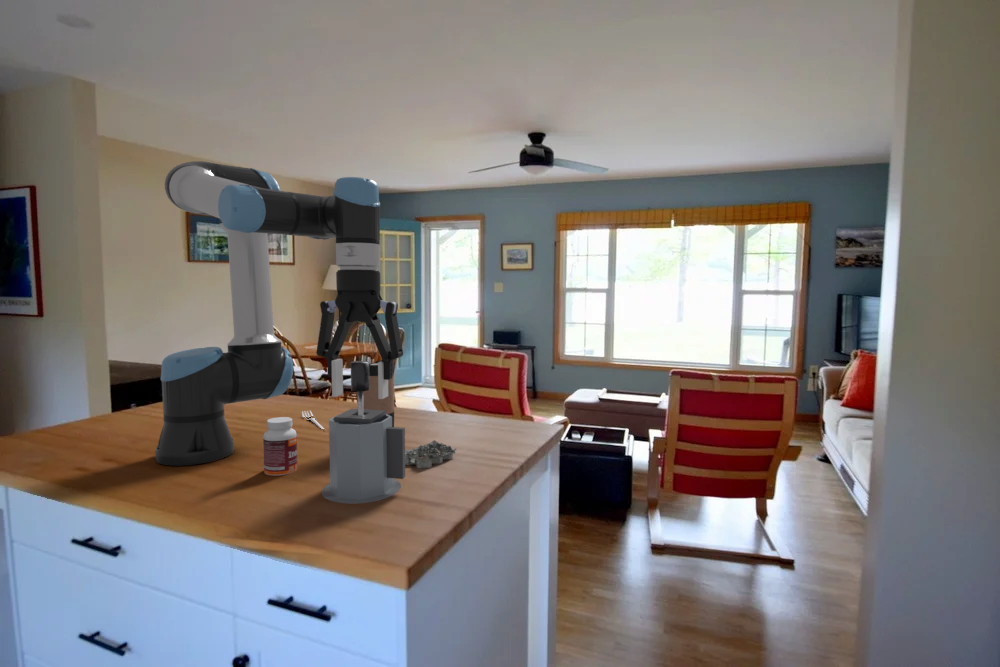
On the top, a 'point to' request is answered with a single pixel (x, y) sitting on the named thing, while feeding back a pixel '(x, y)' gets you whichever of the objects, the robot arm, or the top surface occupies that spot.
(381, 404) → the travel mug
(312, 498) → the top surface
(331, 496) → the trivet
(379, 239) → the robot arm
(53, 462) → the top surface
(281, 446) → the pill bottle
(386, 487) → the carafe
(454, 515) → the top surface
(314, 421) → the fork
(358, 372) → the plunger
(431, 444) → the egg carton
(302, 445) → the top surface
